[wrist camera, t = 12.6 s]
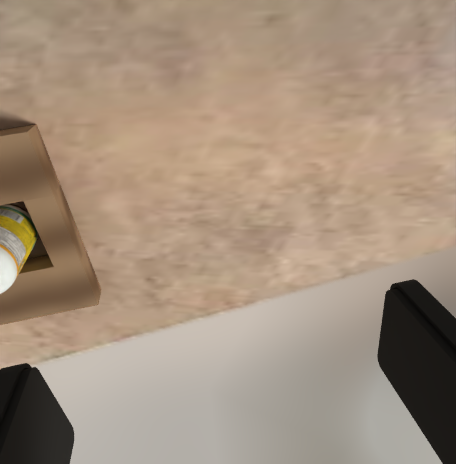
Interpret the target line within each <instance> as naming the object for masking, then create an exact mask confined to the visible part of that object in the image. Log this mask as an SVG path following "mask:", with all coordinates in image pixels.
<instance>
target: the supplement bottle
mask: <svg viewBox="0 0 456 464" xmlns="http://www.w3.org/2000/svg"><path fill="white" fill-rule="evenodd" d="M37 238H38V231H37V229H36V227H35V225H34V223H33V221H32V219H31V216H30V215H29V214H28V213H27V212H26V211H24V210H22V209H20V208H18V207H16V206H13V205H7V204H4V205H0V294H1V293H3V292H5V291H6V290H7V289H9V288H10V287H11V285H12V284H13V283H14V281H15V279H16V278H17V276H18V274H19V272H20V271H21V269H22V267H23V265H24V263H25V262H26V260H27V258H28V256H29V254H30V252H31V251H32V249H33V247H34V245H35V243H36V240H37Z"/></svg>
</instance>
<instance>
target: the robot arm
mask: <svg viewBox="0 0 456 464" xmlns="http://www.w3.org/2000/svg"><path fill="white" fill-rule="evenodd" d="M378 362H379V365H380V367H381V369H382V371H383V372H384V374H385V375H386V377H387V378H388V380H389V381H390V383H391V384H392V386H393V388H394V389H395V391H396V392H397V394H398V395H399V397H400V398H401V400H402V401H403V403H404V404H405V406H406V408H407V409H408V410H409V412H410V414H411V415H412V417H413V418H414V420H415V421H416V423H417V424H418V426H419V427H420V429H421V431H422V432H423V434H424V435H425V437H426V438H427V440H428V441H429V443H430V444H431V446H432V448H433V449H434V451H435V452H436V454H437V455H438V457H439V458H440V460H441V461H442V463H443V464H456V318H455V317H454V316H452V314H451V313H450V312H449V311H448V310H447V309H446V308H445V307H444V306H442V304H440V303H439V302H438V301H437V300H436V299H435V298H434V297H433V296H432V295H431V294H430V293H429V292H428V291H427V290H426V289H425V288H424V287H423V286H422V285H421V284H420V283H419V282H418V281H416V280H409V281H404V282H399V283H395V284H392V285H391V288H390V290H388V291H387V292H386V294H385V302H384V310H383V317H382V325H381V332H380V340H379V348H378ZM73 444H74V431H73V427H72V425H71V423H70V422H69V420H68V418H67V417H66V415H65V413H64V412H63V410H62V408H61V407H60V405H59V404H58V402H57V400H56V398H55V397H54V395H53V393H52V392H51V390H50V388H49V387H48V385H47V383H46V382H45V380H44V378H43V377H42V375H41V373H40V372H39V370H38V369H37V368H36V367H34V368H32V367H31V366H30V365H29V364H27V363H25V364H20V365H15V366H11V367H6V368H2V369H0V464H70V459H71V454H72V449H73Z"/></svg>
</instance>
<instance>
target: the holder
mask: <svg viewBox="0 0 456 464" xmlns="http://www.w3.org/2000/svg"><path fill="white" fill-rule="evenodd" d="M21 201H24V203H25V206H26V208H27V210H28V212H29V214H30V216H31V219H32V221H33V223H34V225H35V227H36V229H37V231H38V234H39V236H40V238H41V240H42V242H43V244H44V247H45V249H46V251H47V253H48V255H46V256H40V257H35V258H30V259H27V260H26V262H25V263H24V265H23V267H22V269H21V271H20V272H19V274H18V276H17V278H16V279H15V281H14V283H13V284H12V285H11V287H10V288H9V289H7V290H6V291H5V292H3V293H1V294H0V325H3V324H8V323H12V322H17V321H22V320H27V319H32V318H37V317H41V316H46V315H51V314H56V313H61V312H66V311H71V310H75V309H80V308H85V307H90V306H95V305H98V304H99V299H100V294H101V287H100V285H99V282H98V280H97V277H96V275H95V272H94V270H93V267H92V264H91V262H90V259H89V257H88V254H87V252H86V249H85V247H84V244H83V242H82V239H81V237H80V234H79V231H78V229H77V226H76V224H75V221H74V219H73V216H72V214H71V211H70V209H69V206H68V203H67V201H66V198H65V196H64V193H63V191H62V188H61V186H60V183H59V181H58V178H57V176H56V173H55V170H54V168H53V165H52V163H51V160H50V158H49V155H48V153H47V150H46V148H45V145H44V143H43V140H42V137H41V135H40V132H39V130H38V127H37V125H36V124H35V125H29V126H23V127H16V128H10V129H4V130H0V205H4V204H10V203H15V202H21Z"/></svg>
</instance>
